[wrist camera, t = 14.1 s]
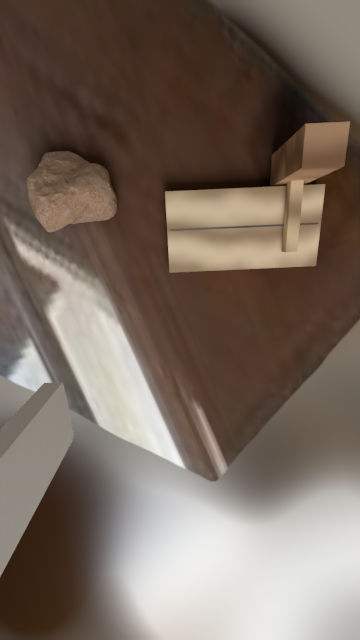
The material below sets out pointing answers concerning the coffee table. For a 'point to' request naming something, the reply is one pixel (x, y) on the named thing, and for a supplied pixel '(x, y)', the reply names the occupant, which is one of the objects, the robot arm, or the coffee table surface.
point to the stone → (70, 191)
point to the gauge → (306, 168)
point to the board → (239, 228)
